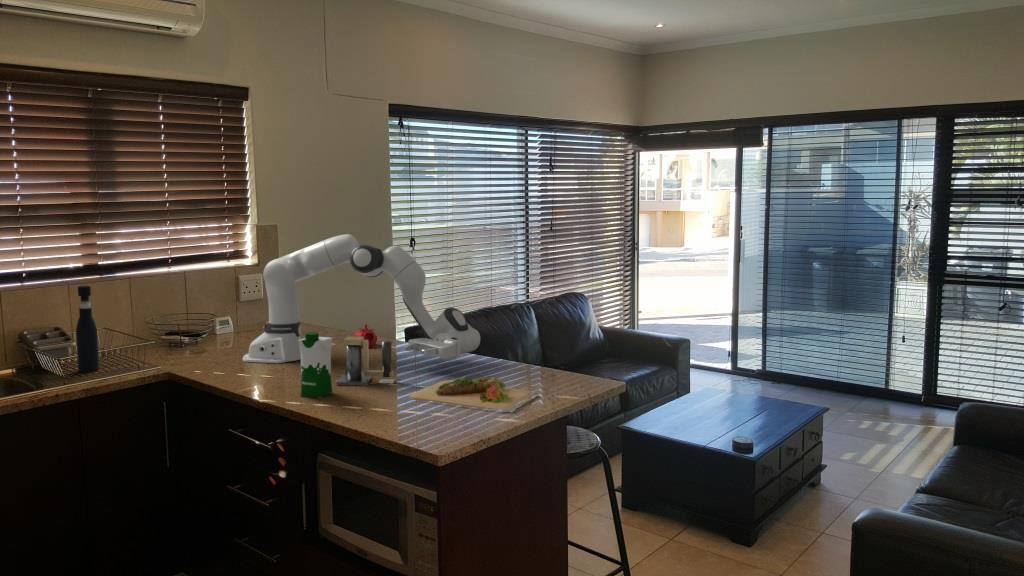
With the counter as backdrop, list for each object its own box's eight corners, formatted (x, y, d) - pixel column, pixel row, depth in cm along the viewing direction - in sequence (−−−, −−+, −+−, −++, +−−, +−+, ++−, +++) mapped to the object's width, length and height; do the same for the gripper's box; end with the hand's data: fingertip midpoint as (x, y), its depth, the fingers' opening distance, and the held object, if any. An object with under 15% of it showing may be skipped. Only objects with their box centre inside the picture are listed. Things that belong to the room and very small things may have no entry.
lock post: (336, 385, 249) (336, 347, 247) (347, 372, 267) (346, 336, 265) (392, 385, 249) (392, 347, 248) (398, 372, 268) (398, 337, 266)
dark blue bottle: (103, 369, 266) (98, 286, 262) (86, 373, 260) (81, 288, 257) (91, 367, 269) (86, 284, 265) (74, 371, 263) (69, 286, 259)
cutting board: (539, 397, 240) (539, 374, 239) (509, 416, 219) (510, 391, 218) (443, 385, 254) (443, 363, 253) (407, 401, 233) (407, 378, 232)
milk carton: (296, 396, 235) (295, 333, 232) (313, 389, 243) (312, 329, 241) (320, 399, 232) (319, 335, 230) (336, 392, 240) (335, 330, 238)
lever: (344, 378, 251) (343, 339, 249) (347, 374, 256) (347, 336, 255) (391, 378, 251) (391, 340, 250) (393, 374, 257) (393, 336, 255)
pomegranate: (349, 347, 310) (348, 325, 309) (360, 343, 319) (360, 322, 318) (370, 349, 307) (370, 327, 306) (381, 345, 316) (381, 323, 315)
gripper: (425, 332, 279) (396, 337, 269) (463, 340, 265) (433, 345, 255) (425, 349, 279) (396, 354, 269) (463, 357, 265) (433, 363, 255)
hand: (414, 350), depth 262 cm, fingers open, 8 cm apart
